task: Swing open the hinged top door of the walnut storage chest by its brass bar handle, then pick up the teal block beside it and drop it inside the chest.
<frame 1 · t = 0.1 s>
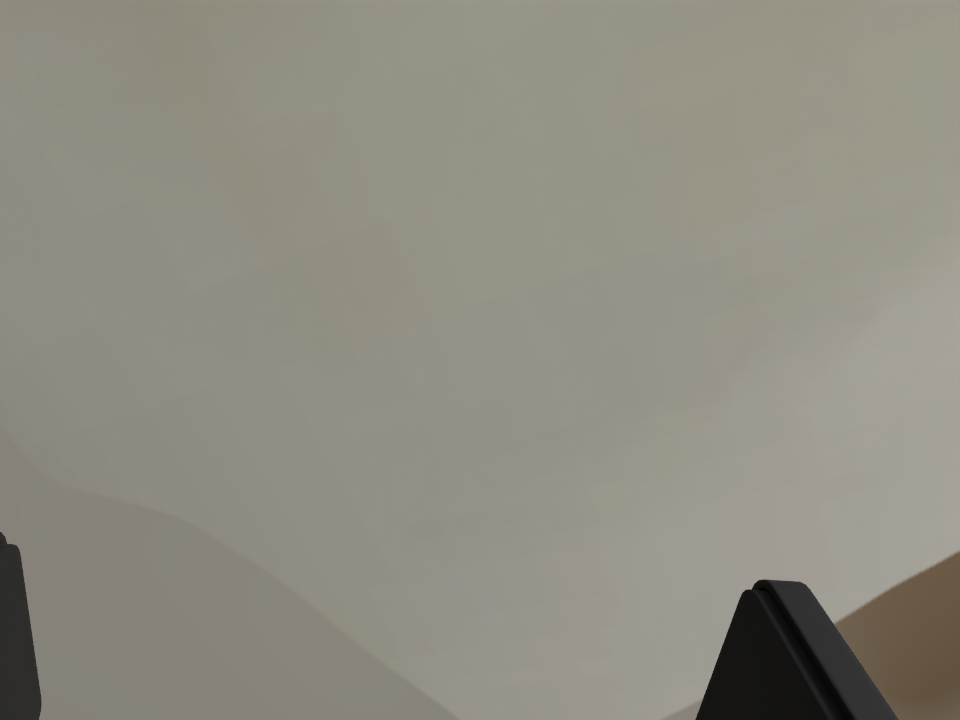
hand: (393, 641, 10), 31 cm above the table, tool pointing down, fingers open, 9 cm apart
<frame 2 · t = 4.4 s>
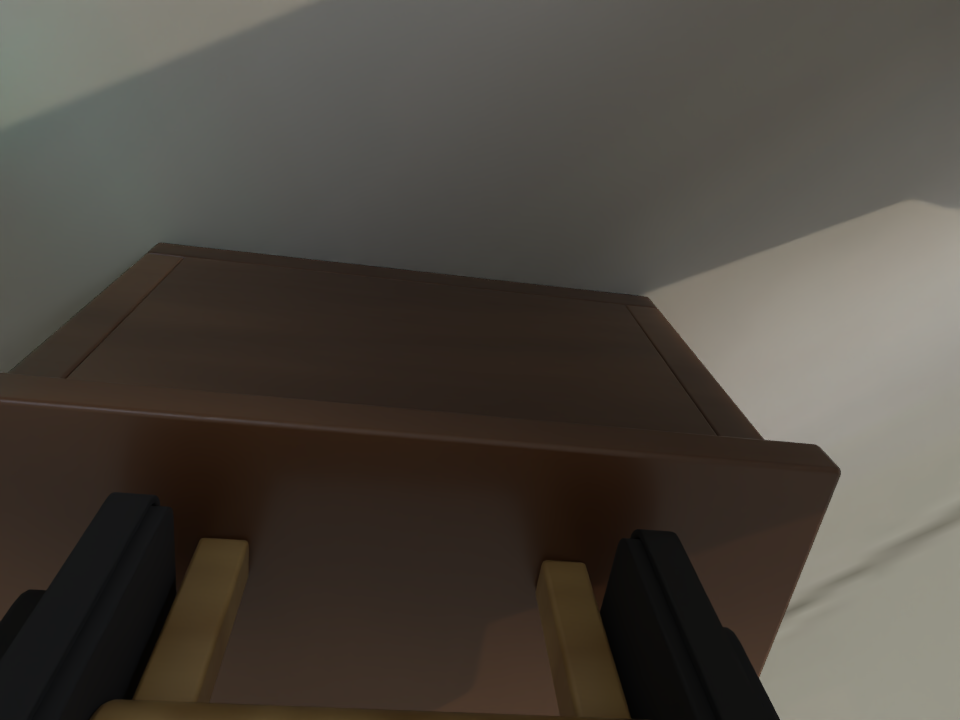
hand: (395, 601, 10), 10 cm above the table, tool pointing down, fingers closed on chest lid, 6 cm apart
chest: (387, 517, 22), on the table
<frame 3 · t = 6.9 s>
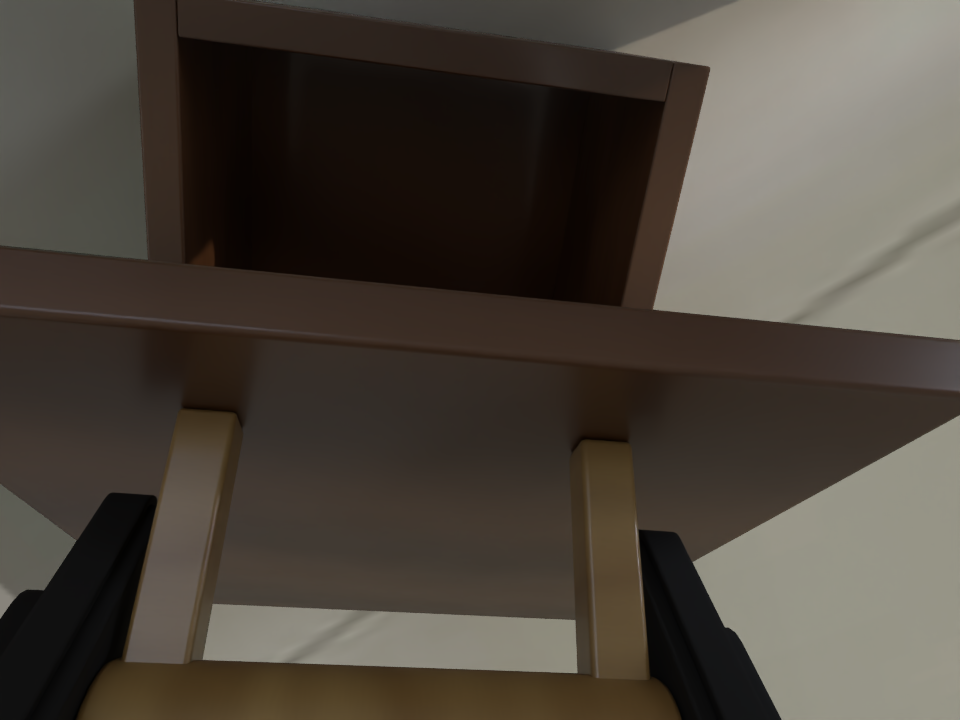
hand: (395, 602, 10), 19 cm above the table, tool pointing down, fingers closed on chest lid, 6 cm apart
chest lid: (384, 646, 14), point 16 cm above the table, hinge at 37.8°, touching gripper
chest: (408, 256, 28), on the table
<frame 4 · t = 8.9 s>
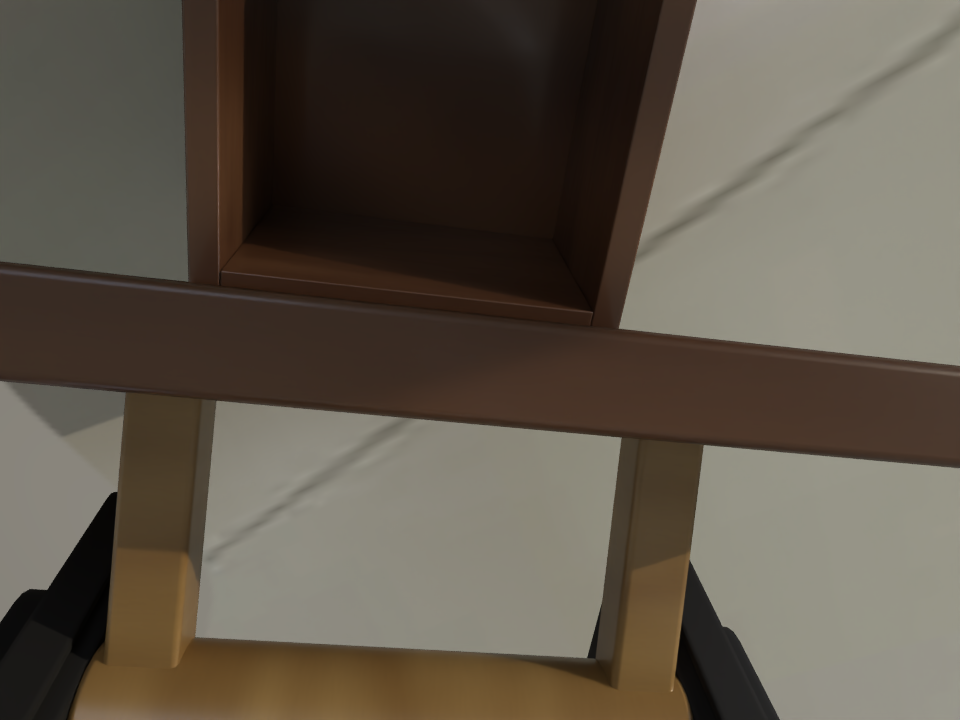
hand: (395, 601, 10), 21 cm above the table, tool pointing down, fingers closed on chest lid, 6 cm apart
chest lid: (404, 458, 14), point 18 cm above the table, hinge at 68.3°, touching gripper
chest: (436, 27, 27), on the table
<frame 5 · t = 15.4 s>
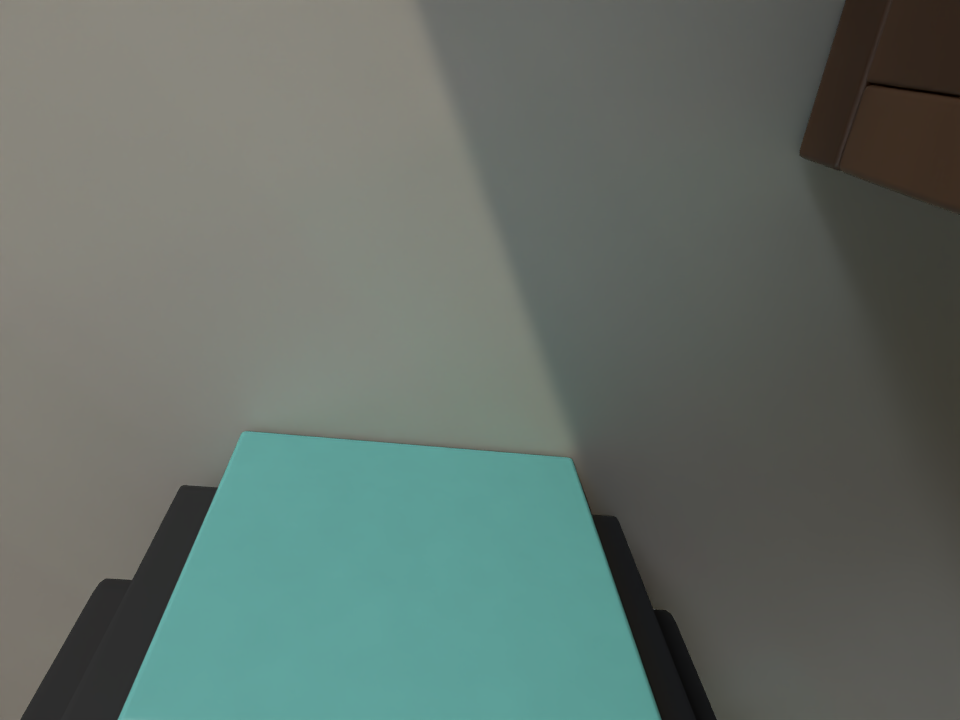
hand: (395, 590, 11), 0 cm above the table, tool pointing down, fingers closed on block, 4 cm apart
block: (396, 572, 11), on the table, touching gripper
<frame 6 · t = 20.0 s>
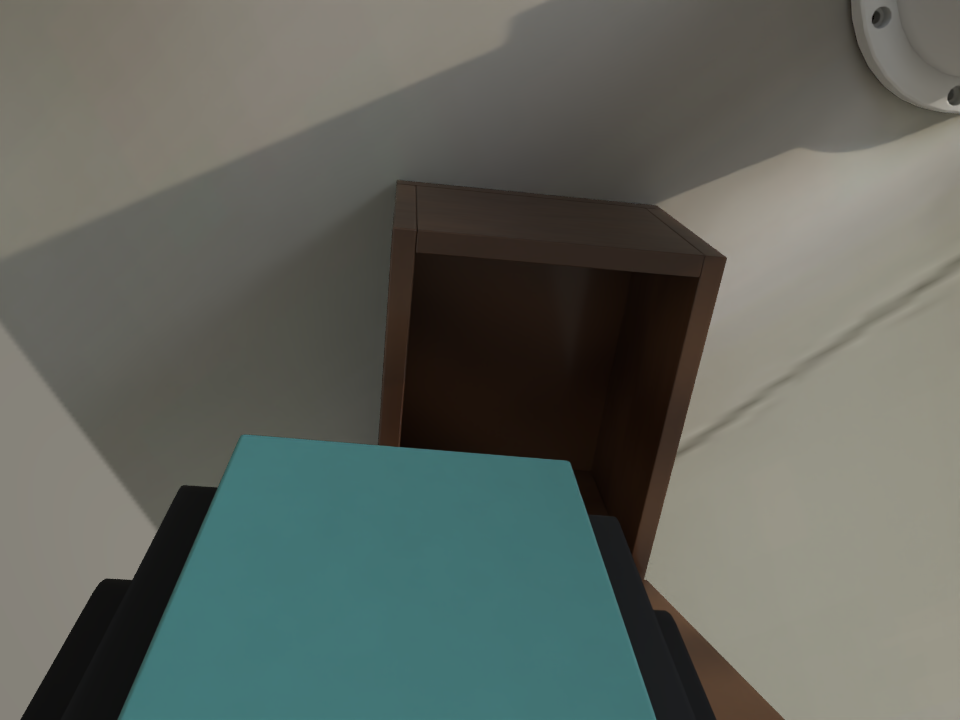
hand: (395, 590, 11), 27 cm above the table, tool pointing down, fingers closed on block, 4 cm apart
chest: (508, 342, 39), on the table
block: (394, 575, 11), point 27 cm above the table, touching gripper
when the fingers open (8 cm above the table, at t = 24.9 s): block drops 7 cm, resting on chest.
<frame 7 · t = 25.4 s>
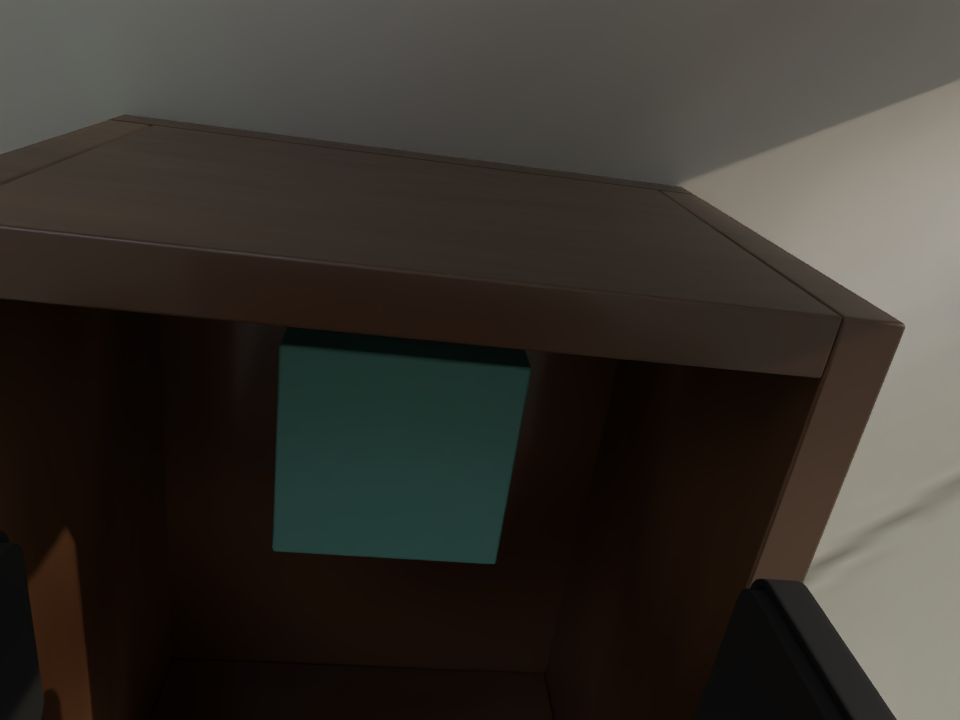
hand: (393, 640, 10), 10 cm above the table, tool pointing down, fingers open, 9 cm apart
chest: (386, 448, 20), on the table
block: (400, 364, 18), point 1 cm above the table, touching chest
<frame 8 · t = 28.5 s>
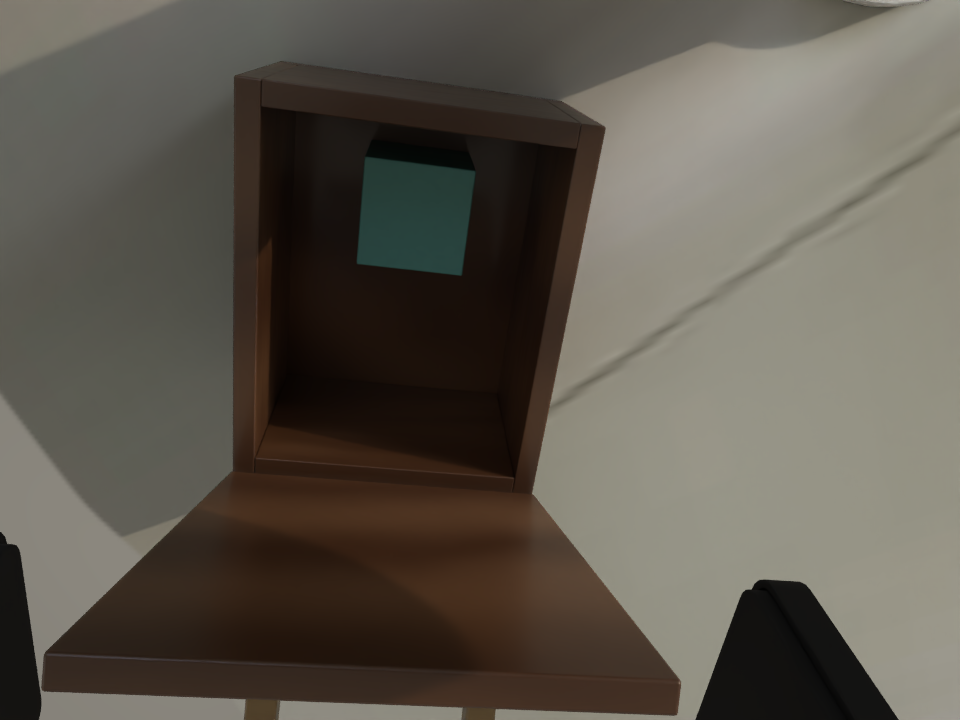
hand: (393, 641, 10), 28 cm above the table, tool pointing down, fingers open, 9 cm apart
chest lid: (375, 626, 23), point 18 cm above the table, hinge at 68.5°
chest: (407, 249, 37), on the table
block: (415, 194, 35), point 1 cm above the table, touching chest
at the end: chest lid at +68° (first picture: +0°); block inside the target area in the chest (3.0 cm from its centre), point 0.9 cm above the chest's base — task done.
